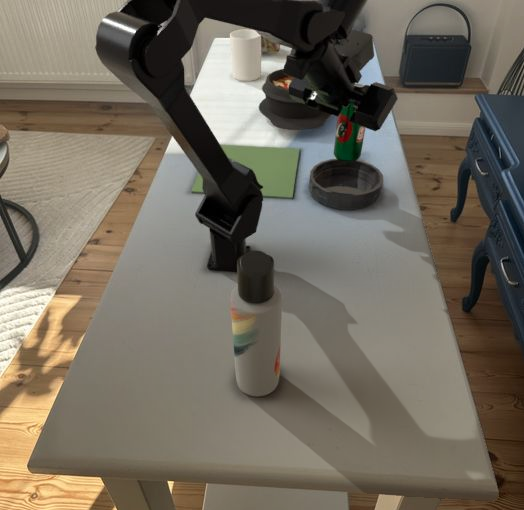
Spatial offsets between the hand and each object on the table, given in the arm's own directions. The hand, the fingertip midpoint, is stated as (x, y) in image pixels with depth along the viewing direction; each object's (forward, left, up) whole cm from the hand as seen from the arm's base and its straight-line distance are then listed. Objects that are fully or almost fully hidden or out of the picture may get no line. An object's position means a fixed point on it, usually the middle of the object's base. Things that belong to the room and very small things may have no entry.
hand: (356, 120), depth 86 cm
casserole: (+33, +12, -13) cm, 38 cm away
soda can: (-1, +1, -7) cm, 7 cm away
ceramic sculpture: (+78, +26, -9) cm, 82 cm away
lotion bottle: (-50, +11, -13) cm, 53 cm away
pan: (-1, 0, -13) cm, 13 cm away
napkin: (+5, +20, -13) cm, 25 cm away
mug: (+59, +28, -13) cm, 67 cm away
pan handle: (+10, 0, -12) cm, 15 cm away
